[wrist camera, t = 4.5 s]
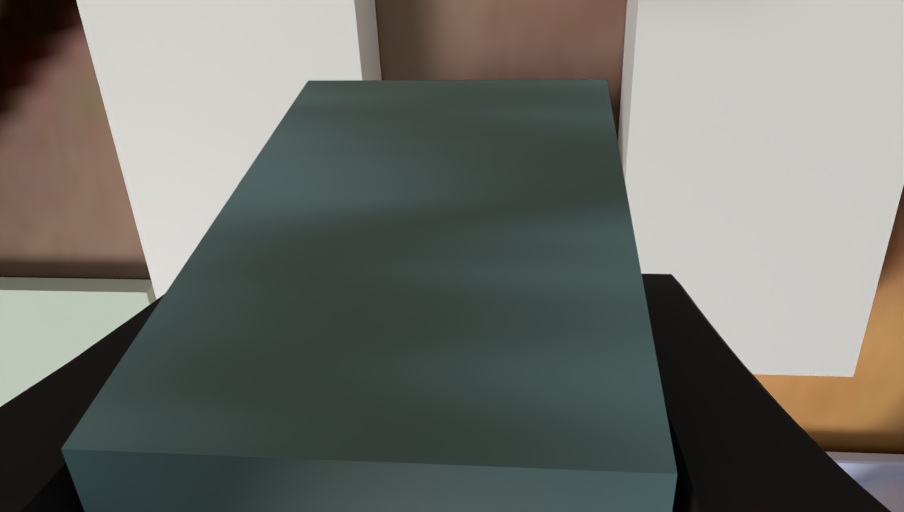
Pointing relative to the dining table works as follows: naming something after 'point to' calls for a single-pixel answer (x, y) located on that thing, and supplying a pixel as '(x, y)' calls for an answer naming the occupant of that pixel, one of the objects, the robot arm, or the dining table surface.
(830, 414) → the dining table surface
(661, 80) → the holder
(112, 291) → the mat
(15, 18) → the dining table surface
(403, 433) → the block
